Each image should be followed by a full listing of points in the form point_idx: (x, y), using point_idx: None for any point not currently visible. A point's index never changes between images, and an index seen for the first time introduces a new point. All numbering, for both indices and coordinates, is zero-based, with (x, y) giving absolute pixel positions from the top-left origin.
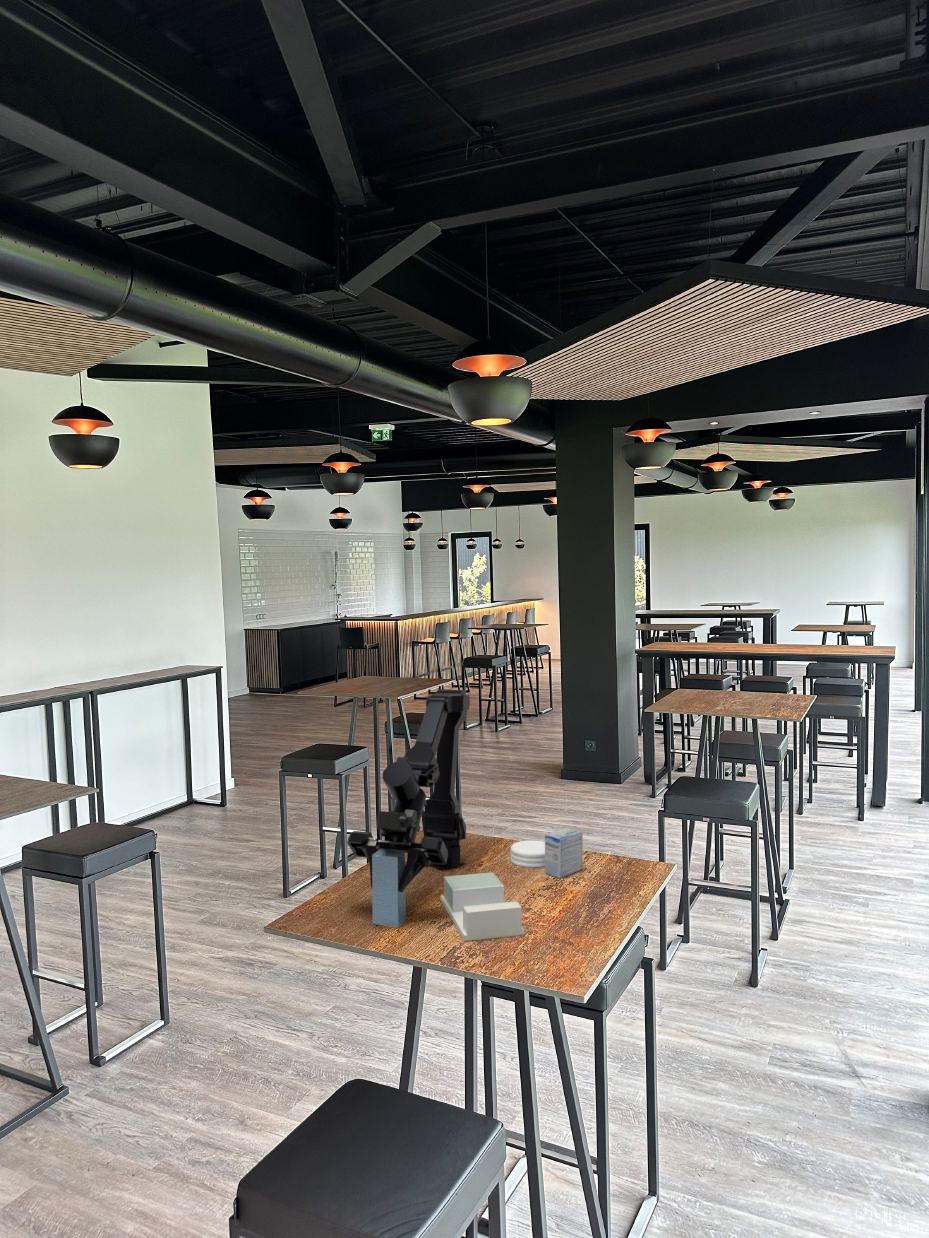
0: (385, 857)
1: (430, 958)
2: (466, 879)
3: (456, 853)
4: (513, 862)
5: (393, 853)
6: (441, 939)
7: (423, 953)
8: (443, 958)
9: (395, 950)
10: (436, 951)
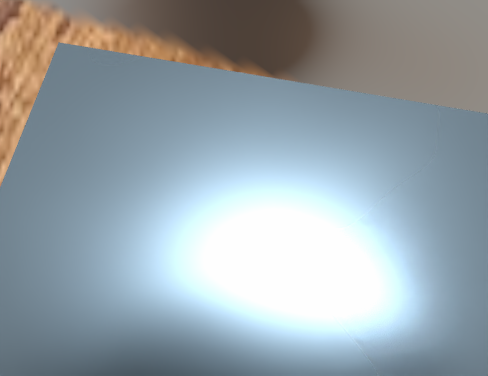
0: (378, 120)
1: (54, 11)
2: None
3: None
4: None
5: (208, 361)
6: (3, 164)
7: (80, 43)
8: (6, 14)
9: (188, 57)
10: (30, 61)
